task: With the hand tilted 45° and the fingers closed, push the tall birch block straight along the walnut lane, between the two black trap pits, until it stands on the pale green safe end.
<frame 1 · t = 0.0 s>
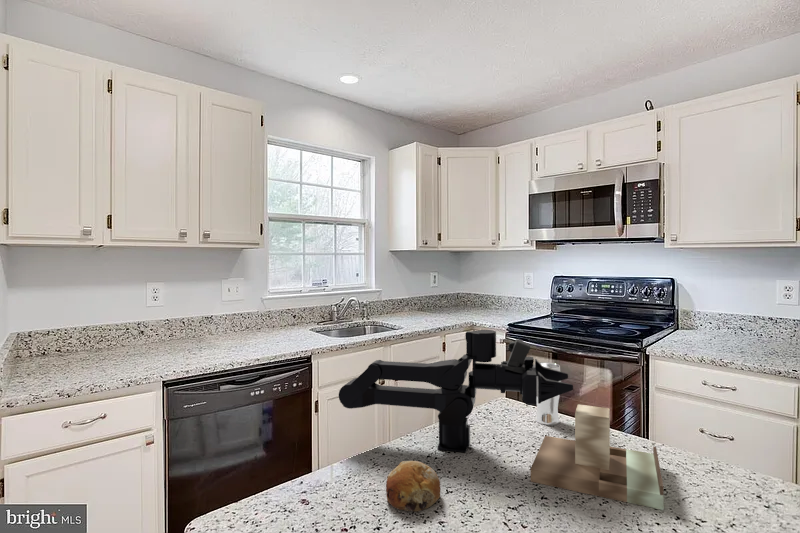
hand: (570, 381, 94), 17 cm above the countertop, tool horizontal, fingers open, 9 cm apart
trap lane: (595, 473, 87), on the countertop
bread roll: (412, 499, 79), on the countertop
birch block: (592, 460, 87), point 2 cm above the countertop, touching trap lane
beer glass: (547, 421, 116), on the countertop
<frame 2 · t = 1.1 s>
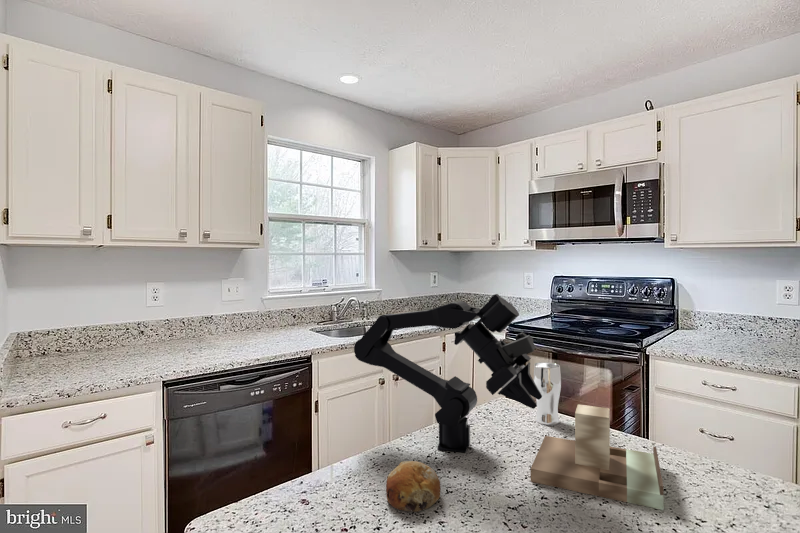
hand: (538, 402, 92), 13 cm above the countertop, tool tilted 45°, fingers open, 6 cm apart
nothing on the countertop moved.
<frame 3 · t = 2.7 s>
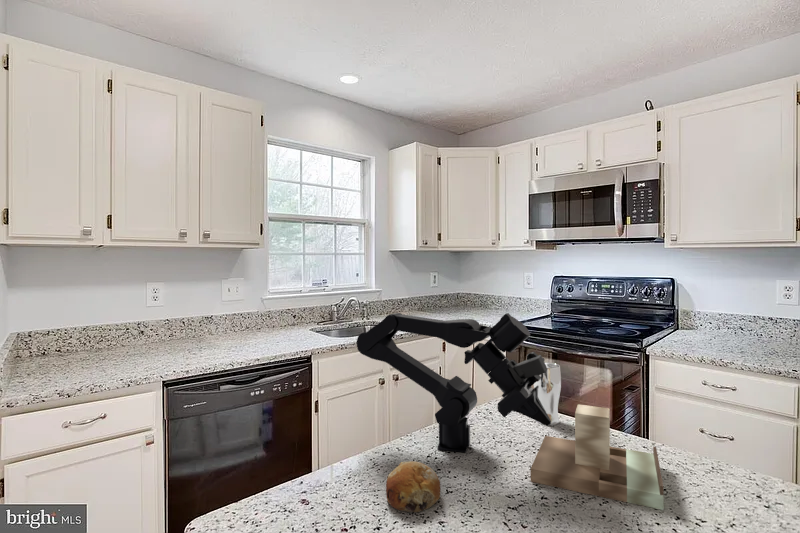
hand: (549, 424, 91), 8 cm above the countertop, tool tilted 45°, fingers closed
nothing on the countertop moved.
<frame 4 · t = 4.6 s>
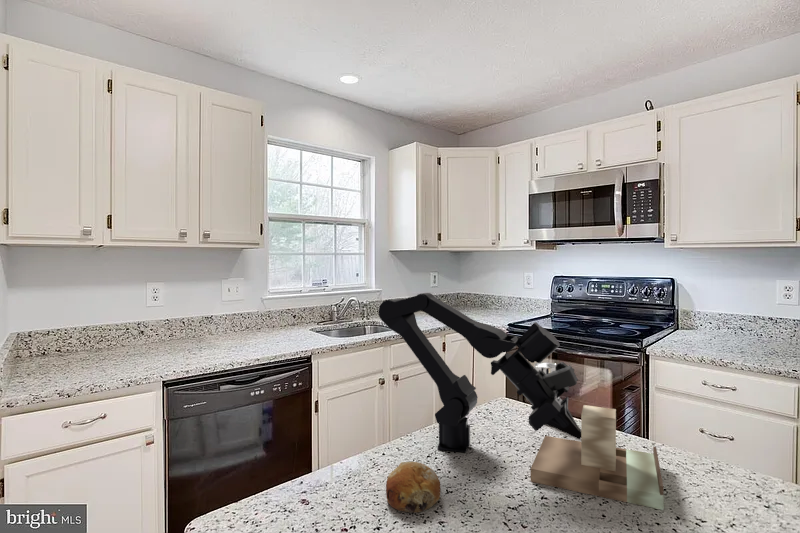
hand: (581, 437, 88), 7 cm above the countertop, tool tilted 45°, fingers closed, pressing on birch block
birch block: (598, 461, 87), point 3 cm above the countertop, touching gripper
everything else where it was.
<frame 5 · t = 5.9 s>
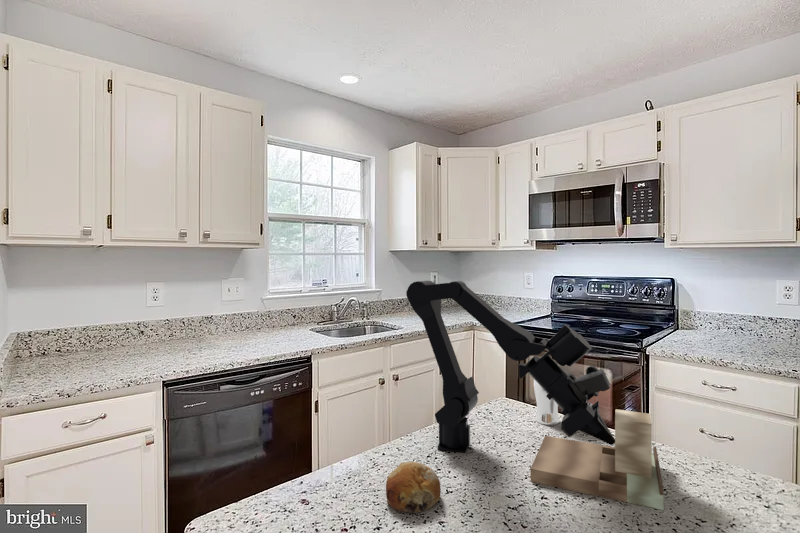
hand: (613, 443, 86), 7 cm above the countertop, tool tilted 45°, fingers closed
birch block: (632, 467, 84), point 2 cm above the countertop, touching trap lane
everything else where it was.
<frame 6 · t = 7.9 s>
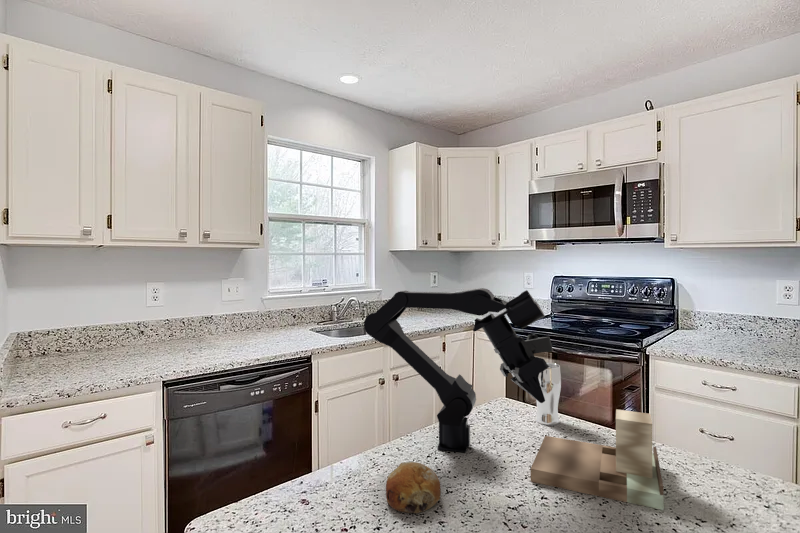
hand: (542, 402, 95), 12 cm above the countertop, tool tilted 30°, fingers closed
nothing on the countertop moved.
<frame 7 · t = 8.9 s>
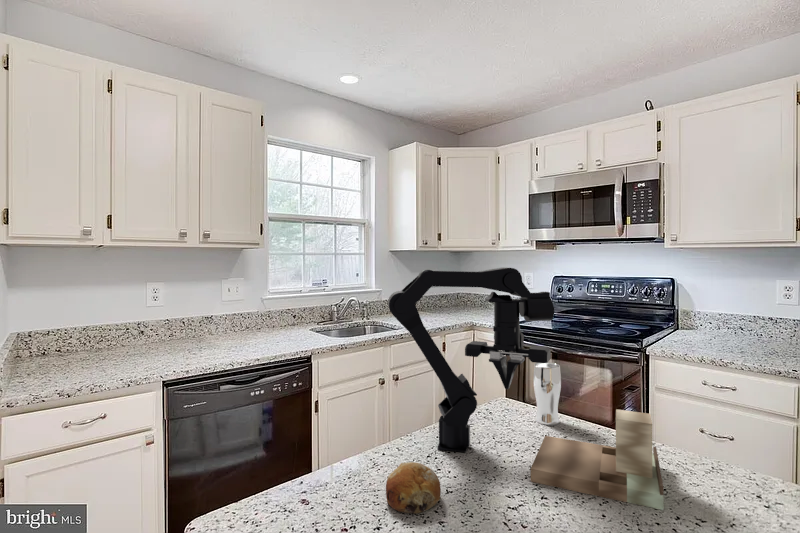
hand: (507, 388, 101), 13 cm above the countertop, tool pointing down, fingers closed
nothing on the countertop moved.
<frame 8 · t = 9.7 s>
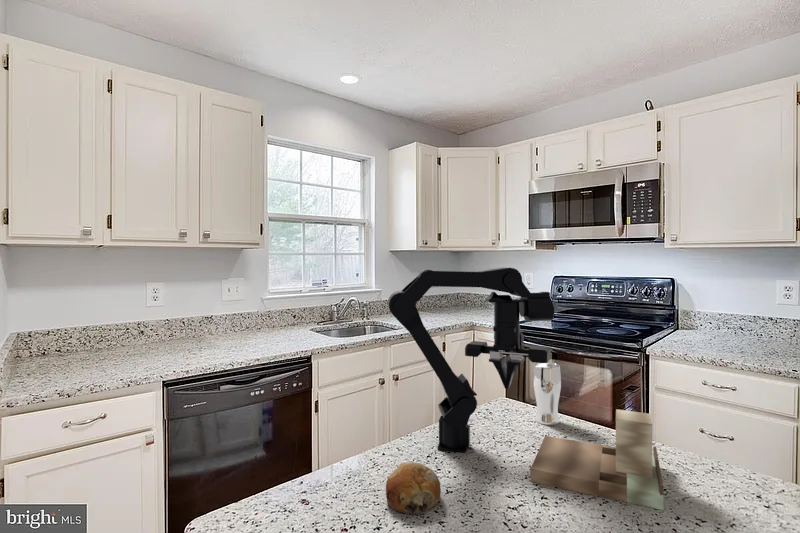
hand: (507, 388, 101), 13 cm above the countertop, tool pointing down, fingers closed
nothing on the countertop moved.
at the end: birch block 0.5 cm from the target spot, point 2.5 cm above the countertop; birch block tilted 0° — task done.
